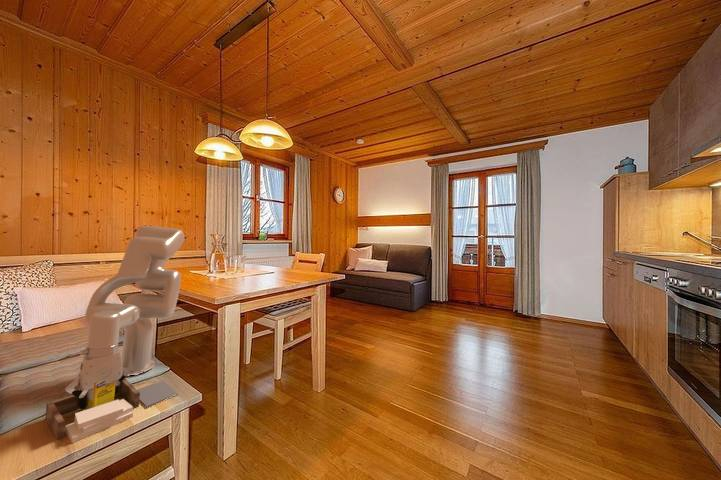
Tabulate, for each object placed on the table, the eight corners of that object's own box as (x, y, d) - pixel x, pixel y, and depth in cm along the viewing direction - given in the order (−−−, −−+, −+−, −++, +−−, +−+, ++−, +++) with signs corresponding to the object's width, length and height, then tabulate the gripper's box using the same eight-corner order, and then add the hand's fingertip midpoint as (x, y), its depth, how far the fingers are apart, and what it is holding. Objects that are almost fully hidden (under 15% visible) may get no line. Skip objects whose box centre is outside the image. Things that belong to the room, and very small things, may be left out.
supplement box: (114, 406, 94) (116, 375, 93) (92, 417, 88) (95, 384, 87) (101, 401, 95) (104, 370, 95) (80, 411, 89) (82, 379, 89)
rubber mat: (131, 392, 101) (131, 391, 101) (162, 381, 110) (162, 380, 110) (146, 408, 95) (146, 406, 95) (178, 394, 104) (178, 393, 104)
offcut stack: (64, 430, 82) (65, 415, 82) (124, 406, 94) (125, 393, 94) (72, 443, 78) (73, 428, 78) (133, 417, 90) (135, 403, 90)
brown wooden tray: (45, 418, 85) (46, 403, 85) (123, 391, 101) (124, 377, 101) (57, 440, 79) (58, 423, 78) (138, 406, 95) (139, 392, 95)
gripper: (68, 363, 81) (63, 421, 82) (139, 345, 96) (134, 394, 97) (61, 354, 85) (56, 409, 86) (130, 338, 100) (125, 385, 101)
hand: (98, 401), depth 91 cm, fingers closed on supplement box, 6 cm apart
